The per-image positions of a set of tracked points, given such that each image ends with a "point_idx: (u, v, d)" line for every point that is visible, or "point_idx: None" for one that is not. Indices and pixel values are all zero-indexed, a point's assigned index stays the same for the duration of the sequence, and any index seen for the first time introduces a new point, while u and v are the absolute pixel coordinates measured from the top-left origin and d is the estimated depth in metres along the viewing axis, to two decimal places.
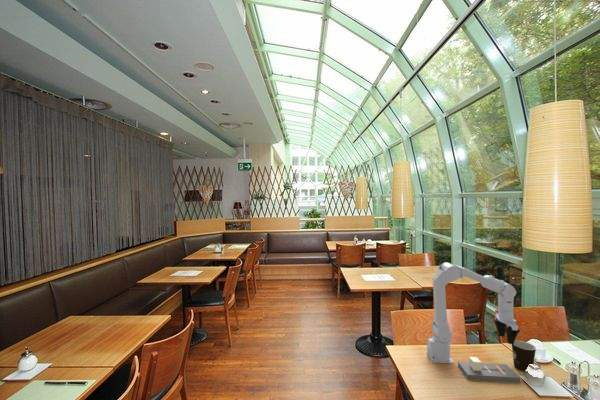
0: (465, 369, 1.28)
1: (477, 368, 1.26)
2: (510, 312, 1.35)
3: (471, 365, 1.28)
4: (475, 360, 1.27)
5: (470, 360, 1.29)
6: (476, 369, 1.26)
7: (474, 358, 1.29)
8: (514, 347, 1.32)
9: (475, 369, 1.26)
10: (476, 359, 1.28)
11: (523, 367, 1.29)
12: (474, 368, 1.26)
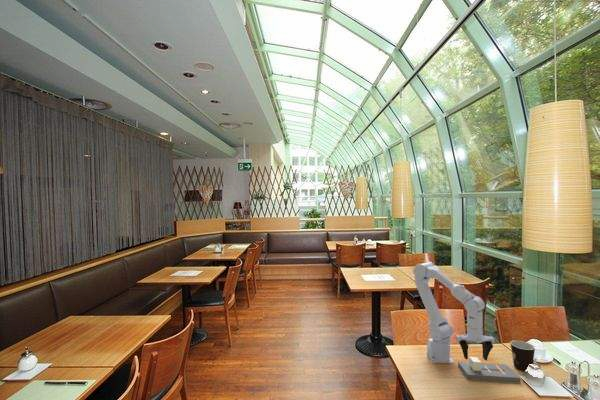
0: (465, 369, 1.28)
1: (477, 368, 1.26)
2: (468, 327, 1.28)
3: (471, 365, 1.28)
4: (475, 360, 1.27)
5: (470, 360, 1.29)
6: (476, 369, 1.26)
7: (474, 358, 1.29)
8: (513, 347, 1.32)
9: (475, 369, 1.26)
10: (476, 359, 1.28)
11: (523, 367, 1.29)
12: (474, 368, 1.26)
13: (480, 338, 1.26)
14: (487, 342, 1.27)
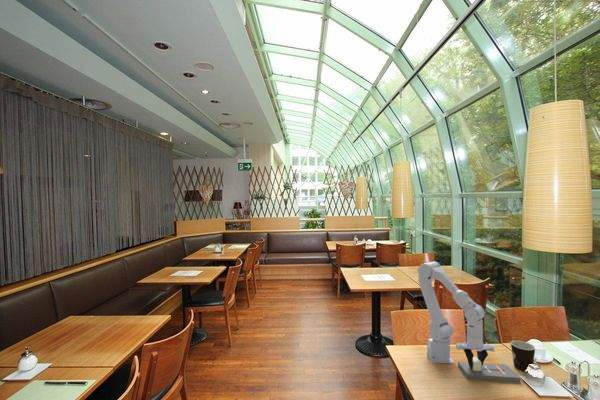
0: (465, 369, 1.28)
1: (477, 368, 1.26)
2: (468, 335, 1.28)
3: None
4: (475, 360, 1.27)
5: None
6: (476, 369, 1.26)
7: (474, 358, 1.29)
8: (513, 347, 1.32)
9: (475, 369, 1.26)
10: (476, 359, 1.28)
11: (523, 367, 1.29)
12: (474, 368, 1.26)
13: (480, 347, 1.26)
14: None
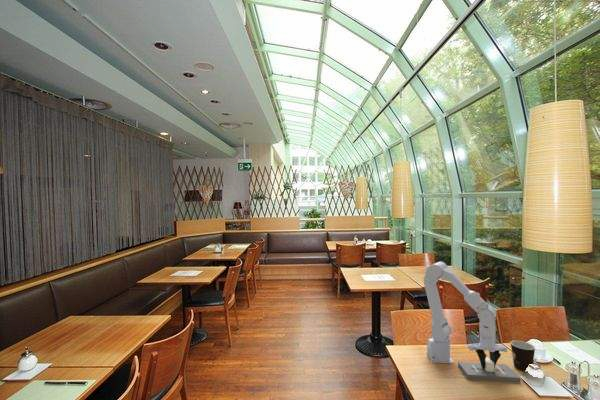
0: (465, 369, 1.28)
1: (490, 369, 1.26)
2: (480, 336, 1.28)
3: None
4: (487, 361, 1.27)
5: None
6: (489, 370, 1.26)
7: (486, 359, 1.29)
8: (513, 347, 1.32)
9: (488, 370, 1.26)
10: (488, 360, 1.28)
11: (522, 367, 1.30)
12: (487, 369, 1.26)
13: (493, 347, 1.25)
14: None
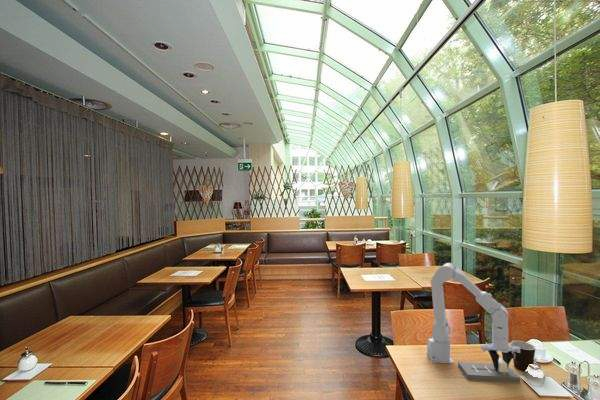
0: (465, 369, 1.28)
1: (503, 369, 1.25)
2: (493, 336, 1.27)
3: None
4: (500, 362, 1.26)
5: None
6: (502, 370, 1.25)
7: (499, 359, 1.28)
8: None
9: (501, 370, 1.25)
10: (501, 360, 1.27)
11: (522, 367, 1.30)
12: (500, 369, 1.25)
13: (506, 348, 1.25)
14: (513, 351, 1.26)
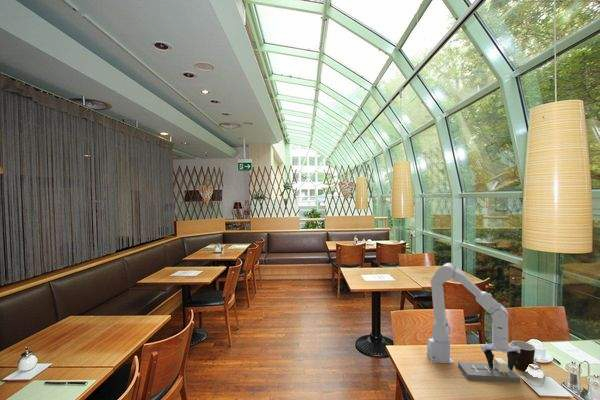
0: (465, 369, 1.28)
1: (503, 369, 1.25)
2: (493, 336, 1.27)
3: (496, 366, 1.27)
4: (500, 362, 1.26)
5: (495, 361, 1.28)
6: (502, 370, 1.25)
7: (499, 359, 1.28)
8: None
9: (501, 370, 1.25)
10: (501, 360, 1.27)
11: (522, 367, 1.30)
12: (500, 369, 1.25)
13: (506, 348, 1.25)
14: (513, 352, 1.26)
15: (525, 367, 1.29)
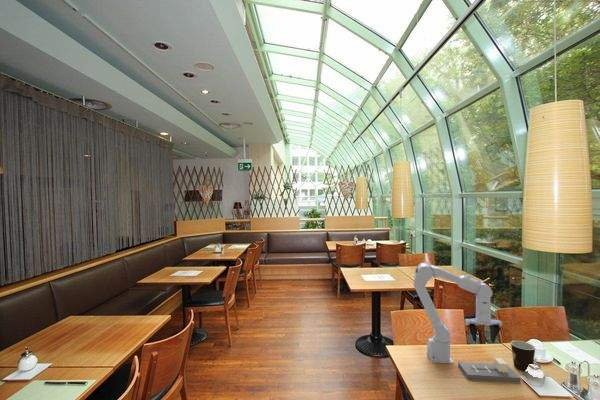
0: (465, 369, 1.28)
1: (503, 369, 1.25)
2: (477, 311, 1.35)
3: (496, 366, 1.27)
4: (500, 362, 1.26)
5: (495, 361, 1.28)
6: (502, 370, 1.25)
7: (499, 359, 1.28)
8: (513, 347, 1.32)
9: (501, 370, 1.25)
10: (501, 360, 1.27)
11: (522, 367, 1.30)
12: (500, 369, 1.25)
13: (488, 321, 1.33)
14: (495, 325, 1.34)
15: (525, 367, 1.29)
